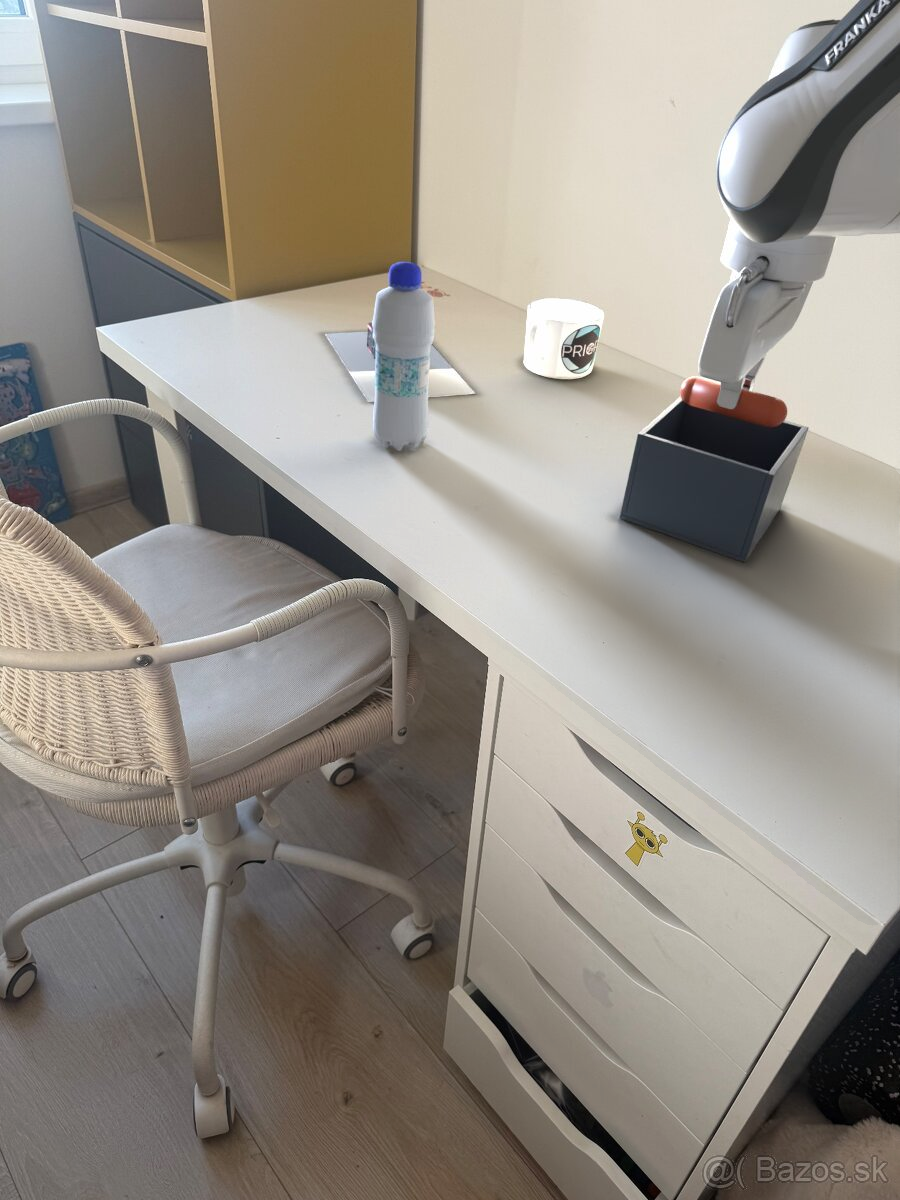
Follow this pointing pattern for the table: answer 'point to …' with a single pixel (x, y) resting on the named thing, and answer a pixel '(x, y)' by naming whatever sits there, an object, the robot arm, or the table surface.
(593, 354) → the mug
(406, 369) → the bottle
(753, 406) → the orange round-ended cylinder
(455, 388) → the shiny metal sheet
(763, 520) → the bin
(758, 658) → the table surface
